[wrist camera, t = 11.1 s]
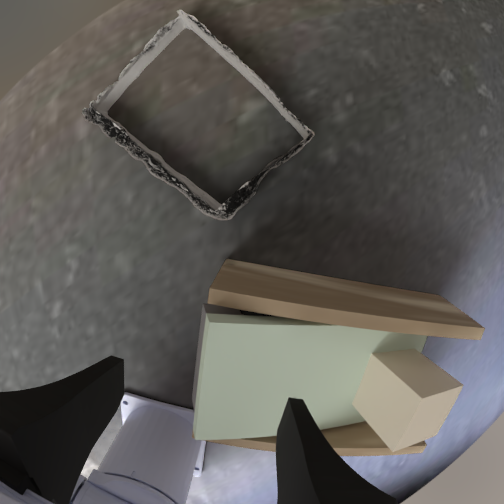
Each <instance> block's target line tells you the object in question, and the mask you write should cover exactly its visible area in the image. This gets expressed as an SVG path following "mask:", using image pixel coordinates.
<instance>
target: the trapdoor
mask: <svg viewBox="0 0 504 504" xmlns="http://www.w3.org/2000/svg"><path fill="white" fill-rule="evenodd" d="M427 337H428V336H425V335H415V334H405V333H396V332H387V331H379V330H370V329H362V328H355V327H347V326H340V325H333V324H326V323H319V322H312V321H305V320H299V319H293V318H286V317H272V316H248V315H242V313H241V312H240V310H239V309H235V308H229V307H224V306H219V305H213V304H203V306H202V314H201V322H200V330H199V339H198V347H197V356H196V365H195V374H194V383H193V393H192V402H193V407H194V422H193V432H194V437H195V440H223V439H243V438H257V437H268V436H277V429H278V426H279V423H280V421H281V418H282V415H283V412H284V409H285V406H286V404H287V401H288V398H289V397H290V398H297V399H303V400H304V402H305V404H306V406H307V408H308V410H309V411H310V413H311V415H312V417H313V419H314V420H315V422H316V424H317V426H318V427H319V429H320V430H322V429H328V428H333V427H339V426H344V425H349V424H354V423H359V422H363V421H366V420H365V419H364V418H363V417H362V416H361V414H360V413H359V412H358V411H357V410H356V409H355V407H354V406H353V405H352V402H353V400H354V398H355V395H356V393H357V390H358V388H359V385H360V383H361V380H362V377H363V375H364V372H365V369H366V367H367V364H368V361H369V359H370V356H371V353H381V352H390V351H399V350H407V349H416V350H417V351H419V352H420V353H421V352H422V350H423V347H424V345H425V342H426V339H427Z"/></svg>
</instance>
